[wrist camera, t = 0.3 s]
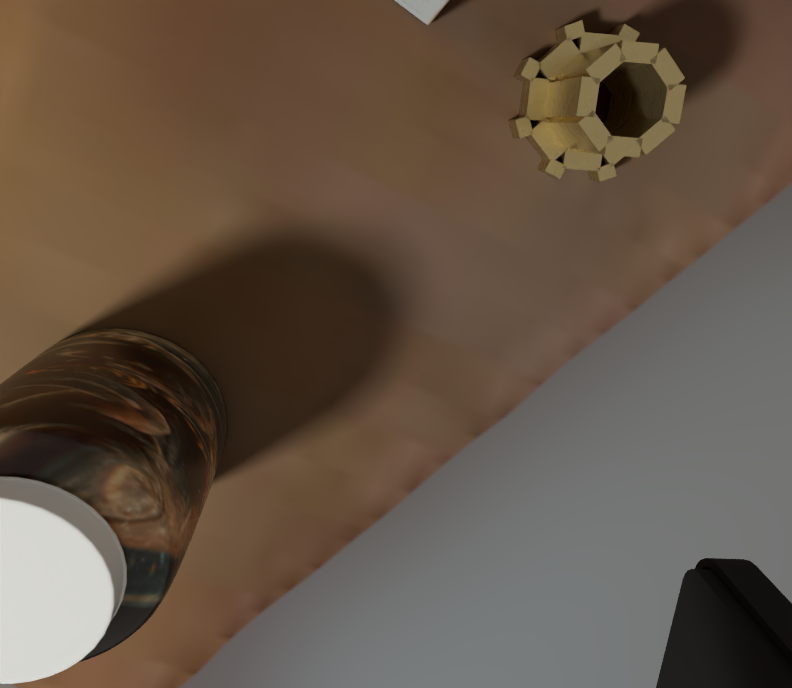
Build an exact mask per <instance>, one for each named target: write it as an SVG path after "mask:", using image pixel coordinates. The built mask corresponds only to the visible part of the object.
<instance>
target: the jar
mask: <svg viewBox="0 0 792 688" xmlns="http://www.w3.org/2000/svg"><path fill="white" fill-rule="evenodd" d="M226 436H227V414H226V408H225V404H224V401H223V397H222V395H221V392H220V390H219V388H218V386H217V384H216V382H215V381H214V379H213V378H212V376H211V375H210V373H209V372H208V371H207V370H206V368H205V367H204V366H203V365H202V364H201V363H200V362H199V361H198V360H197V359H196V358H195V357H193V356H192V355H191V354H190V353H188V352H187V351H186V350H184V349H183V348H181V347H180V346H178V345H176V344H174V343H172V342H171V341H169V340H166V339H164V338H162V337H159V336H156V335H153V334H150V333H146V332H142V331H137V330H131V329H100V330H93V331H88V332H84V333H81V334H78V335H74V336H72V337H70V338H67V339H65V340H63V341H61V342H59V343H57V344H55V345H54V346H52V347H50V348H49V349H47V350H46V351H44V352H43V353H41V354H40V355H39V356H37V357H36V358H35V359H33V360H32V361H31V362H29V363H28V364H27V365H25V366H24V367H23V368H21V369H20V370H19V371H17V372H16V373H15V374H13V375H12V376H11V377H9V378H8V379H7V380H5V381H4V382H3V383H1V384H0V684H14V683H22V682H30V681H34V680H38V679H42V678H46V677H49V676H52V675H54V674H56V673H59V672H61V671H63V670H66V669H68V668H69V667H71V666H72V665H74V664H76V663H77V662H80V661H84V660H87V659H90V658H92V657H95V656H97V655H100V654H102V653H104V652H106V651H108V650H110V649H112V648H113V647H115V646H117V645H118V644H120V643H121V642H123V641H124V640H126V639H127V638H128V637H130V636H131V635H132V634H133V633H135V632H136V631H137V630H138V629H140V628H141V627H142V626H143V625H144V624H145V623H146V622H147V621H148V619H149V618H150V617H151V616H152V615H153V613H154V612H155V611H156V609H157V608H158V606H159V605H160V603H161V602H162V600H163V598H164V597H165V595H166V593H167V592H168V590H169V588H170V586H171V584H172V582H173V580H174V578H175V576H176V573H177V571H178V569H179V567H180V565H181V562H182V560H183V557H184V555H185V552H186V550H187V548H188V545H189V543H190V540H191V538H192V535H193V533H194V530H195V528H196V525H197V522H198V520H199V517H200V514H201V512H202V509H203V507H204V504H205V501H206V499H207V496H208V493H209V490H210V488H211V485H212V482H213V479H214V477H215V474H216V471H217V468H218V465H219V462H220V460H221V456H222V453H223V450H224V447H225V442H226Z"/></svg>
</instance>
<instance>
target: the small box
mask: <svg viewBox="0 0 792 688" xmlns="http://www.w3.org/2000/svg"><path fill="white" fill-rule="evenodd" d="M395 1H396V2H397V3H399V4H400V5H401V6H403V7H404V8H405V9H407V10H408V11H409V12H411V13H412V14H413V15H415V16H416V17H417V18H419V19H420V20H421V21H422V22H424V23H425V24H427V25H429V24H430V23H431V22H432V21H433V20H434V18H435V17H436V16H437V15H438V14H439V12H440V11H441V10H442V8H443V7H444V6H445V5H446V4H447V3H448V2H449V1H450V0H395Z"/></svg>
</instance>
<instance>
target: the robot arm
mask: <svg viewBox="0 0 792 688" xmlns="http://www.w3.org/2000/svg"><path fill="white" fill-rule="evenodd" d="M656 688H792V603H791V602H790V601H789V600H788V599H787V598H786V597H785V596H784V595H783V594H782V593H781V592H780V591H779V590H778V589H777V588H776V587H775V585H773V583H772V582H771V581H770V580H769V579H768V578H767V577H766V576H765V575H764V574H763V573H762V572H761V571H760V570H759V568H758V567H757V566H756V565H754V564H753V563H752V562H750V561H748V560H744V559H713V558H705V559H702V560H700V561H699V562H698V564H697V565H696V568H695V569H691V570H688V571H687V572H686V573H685V576H684V578H683V581H682V585H681V589H680V593H679V597H678V601H677V605H676V610H675V614H674V617H673V621H672V626H671V630H670V634H669V638H668V642H667V646H666V650H665V654H664V658H663V662H662V666H661V670H660V674H659V678H658V682H657V687H656Z"/></svg>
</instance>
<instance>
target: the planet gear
mask: <svg viewBox="0 0 792 688" xmlns="http://www.w3.org/2000/svg"><path fill="white" fill-rule="evenodd" d="M555 32H556V36H557V41H558V42H557V43H556V44H555V45H554V46H553V47H552V48H551V49H550V50H548V51H547V52H546V53H545V54H544V55H543V56H542V57H541V58H539V59H538V60H537V61H536V60H534V59H532V58H531V57H529V58H526V59H523V60H522V61H521V63H520V65H519V67H518V69H517V71H516V73H515V75H514V77H515V78H516V79H518V80H520V81H522V82H523V87H522V95H521V104H520V112H519V117H517V118H514V119H511V120H508V121H509V124H510V128H511V132H512V136H513V138H522V137H526V138H527V139H528V141H529V142H530V143H531V145H532V146H533V147H534V149H535V150H536V151H537V153H538V154H539V155H540V156H541V158H542V161H541V163H540V164H539V166H538V168H537V169H538V170H540V171H542V172H544V173H545V174H547V175H549V176H551V177H554V178H558V179H560V178H561V176H562V174H563V172H564V170H565V169H577V170H588V174H589V178H590V180H595V181H599V182H600V181H603V180H606V179H609V178H612V177H615V176H616V171H615V167H614V165H615V164H616V163H617V162H618V161H619V160H621V159H622V158H623V157H624V156H629V157H640V154H642V155H647V154H648V153H649V152H650V151H651V150H653V149H654V148H655V147H656V146H657V145H658V144H660V143H661V142H662V141H663V140H664V139H666V138H667V137H668V136H669V135H670V134H672V133H673V132H674V131H675V129H674V127H673V126H672V125H671V124H679V122H680V117H681V112H682V106H683V101H684V96H685V90H686V85H679V83H680V82H681V81H682V80H683V79H685V77H684V76H683V74H682V73H681V71H680V70H679V68H678V66H677V65H676V63H675V62H674V60H673V59H672V57H671V56H670V54H669V53H668V51H667V50H666V48H661V49H658V48H659V44H655V43H644V42H635V41H636V39H637V38H638V36H639V34H640V33H639V32H637V31H636V30H634V29H633V28H631V27H629V26H628V25H626V24H623V25H620V26H617V27H614V28H613V29H612V31H611V33H610V34H599V33H588V32H585V31H584V26H583V21H582V20H580V21H578V22H575V23H572V24H569V25H566V26H564V27H561V28H559V29H557V30H555ZM536 76H537V78H535V77H536ZM601 81H602V82H603V83H604V84H605V86H606V87H607V89H608V90H609V92H610V93H611V99H610V106H609V112H608V118H607V120H606V121H605V122H604V123H602V122H601V120H600V119H599V118H598V116H597V115H596V113H595V111H596V104H597V98H598V91H599V84H600V82H601ZM530 120H532V121H534V122H533V123H532V124H531V123H530Z"/></svg>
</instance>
